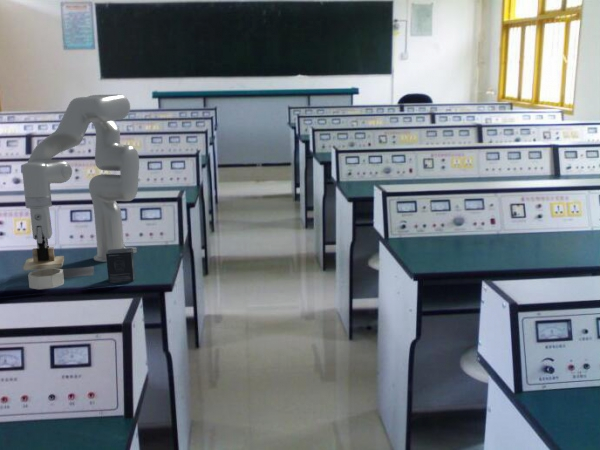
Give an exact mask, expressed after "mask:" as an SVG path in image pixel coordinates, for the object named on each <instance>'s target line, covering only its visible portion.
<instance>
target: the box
mask: <svg viewBox="0 0 600 450" xmlns="http://www.w3.org/2000/svg"><path fill="white" fill-rule="evenodd" d="M106 259H107V262H106V265H107V266H106V267H107V269H106V270H107V276H108V278H107V280H108V284H115V283H117V284H120V283H131V282H134V280H135V278H136V275H135V261H134V253H133V249H132V248H125V249H110V250H108V251H107V253H106Z"/></svg>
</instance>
